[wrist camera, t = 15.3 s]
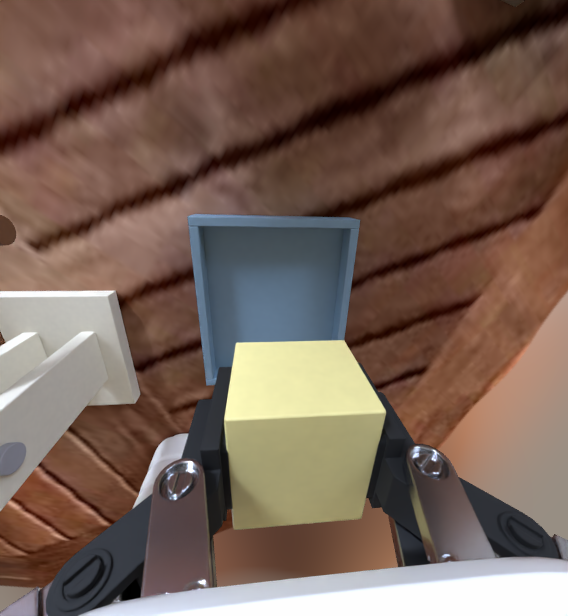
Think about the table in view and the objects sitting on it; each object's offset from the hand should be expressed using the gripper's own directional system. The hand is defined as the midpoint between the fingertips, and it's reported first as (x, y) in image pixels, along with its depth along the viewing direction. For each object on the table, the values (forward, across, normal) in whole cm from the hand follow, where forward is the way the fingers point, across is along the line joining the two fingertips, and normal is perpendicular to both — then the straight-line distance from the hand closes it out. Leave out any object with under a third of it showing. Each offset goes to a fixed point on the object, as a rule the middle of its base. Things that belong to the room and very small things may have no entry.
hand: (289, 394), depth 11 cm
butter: (0, 0, 0) cm, 0 cm away
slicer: (+11, +16, +4) cm, 20 cm away
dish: (+11, 0, 0) cm, 11 cm away
